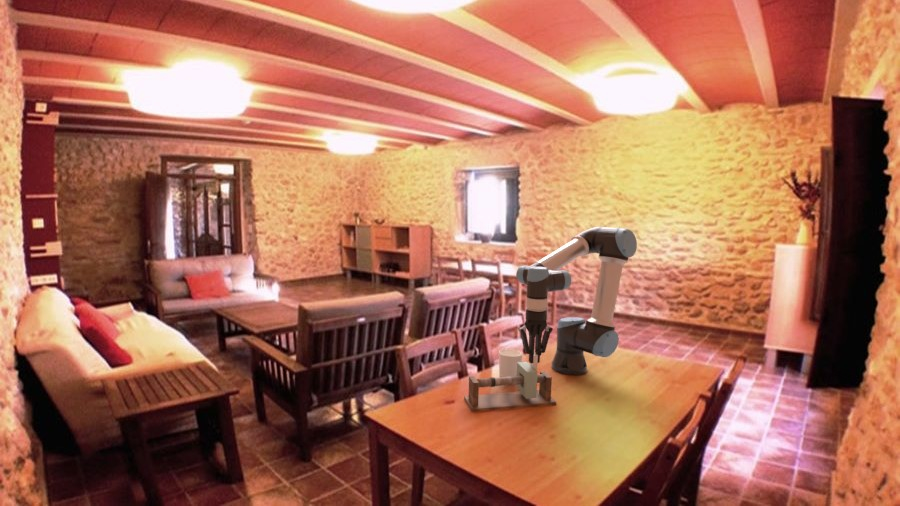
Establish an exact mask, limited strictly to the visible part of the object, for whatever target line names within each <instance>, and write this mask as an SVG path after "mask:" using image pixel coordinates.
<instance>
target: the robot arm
mask: <svg viewBox="0 0 900 506" xmlns="http://www.w3.org/2000/svg"><path fill="white" fill-rule="evenodd" d="M637 245H638V242H637V237H636V235H635V233H634V232H633V230H630V228H629V229H628V228H622V227H609V226H608V227H607V226H596V227H595V226H594V227H592V228H589V229H588V228H587V229H586V230H584V231H581V232H579V233H577V234H575V235H574V236H573V237H572V238H570V241H569V242H567V243H566V244H564V245H562V246H561V247H559V248H557V249H556V250H554V251H552V252H551V253H549V254H547V255H546V256H544V257H542V258H540V259H539V260H538V261H536V262H534V263H533V264H531V265H521V266H519V267H518V268H517V270H516V280H517V281H518V282H519V283H520V284H523V285H525V286H526V299H525V300H526V301H525V302H526V303H525V308H526V309H525V322H524V325H523V326H519V327H518V328H517V329H518V331H519V333H520V336H521V341H522V347H523V350H524V351H523V352H525V353H526V354H527V355H528V363H529V364H530V365H531V366H532V367H533V368H534V369H536V370H537V371H538V364H539V363H541V356H542V354H544V353H546V351H547V346H548V343H549V338H550V336H551V335H550V334H551V333H552V332H553V329H554V328H553V327H551V326H550V325H548V322H547V313H548V312H547V311H548V310H547V308H548V293H550V292H559V291H564V290H567V289H568V288H570V287H571V285H572V276H571V274H570V272H568V271H567V270H566V269H565V270H564V269H563V270H561V269H562V268H564V267H566V266H567V265H568V264H570V263H571V262H573V261H575V260H576V259H578V258H579V257H585V256H587V255H589V254H598V258H599V259H600V261H601V262H600V263H601V264H600V268H599V275H598V278H597V279H598V280H597V284H596V289H595V295H594V299H593V300H594V301H593V304H592V308H591V309H592V310H591V315H590V317H589V318H587V319H585V318H583V317H576V316H575V317H574V316H571V317H570V316H569V317H562V318H559V320H558V321H557V327H556V349H555V350H556V351H555V354H554V356H553V359H552V361H551V368H552V369H553V371H555V372H557V373H559V374H560V373H561V374H563V375H568V376H569V375H572V376H573V375H574V376H577V375H578V376H579V375H583V374H586V373H587V370H588V366H587V362H586V361H587V360H586V359H585V358H586V356H585V354H584V353H588V354H591V355H593V356H595V357H600V358H608V357H610V356H612V354H614V353H615V351H616V349H617V348H618V346H619V341H620V338H619V334H618V332H617V331H615V330H616V329H615V328H616V325H615V324H614V323H613V319H614V315H615V309H616V304H617V298H618V293H619V288H620V283H621V278H622V273H623V272H622V271H623V267H624V265H625V264H627V263H628V262H629V258H632V257H633V256H634V255H635V254H636V251H637V248H638V246H637ZM527 331H528V337H527V333H526V332H527Z"/></svg>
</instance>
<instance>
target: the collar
mask: <svg viewBox="0 0 900 506" xmlns="http://www.w3.org/2000/svg"><path fill="white" fill-rule="evenodd" d="M537 375H538V369H537V370H536V369H534V368H533V367H532V366H531V363H530V362H529V361H522V362H517V375H516V376H524V384H518V385H515V388H516V389H517V391H518V392H521V394H522V395H523V396H524V397H525V398H526V399H528V398H536V396H537V390H538V383H537Z"/></svg>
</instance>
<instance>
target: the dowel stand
mask: <svg viewBox="0 0 900 506" xmlns="http://www.w3.org/2000/svg"><path fill="white" fill-rule="evenodd" d="M552 379H553V377H552V376H551V375H550V374H549V373H547V372H546V371H544V370H543V371H540V372H539V374H537V384H539V385H538V386H539V388H538V389H537V396H536V398H528V399H526V398H525V397H524V396H523V395H522V394H521V392H520V391H513V392H512V391H511V392H498V393H497V392H496V393H486V394H480V393H479V388H495V387H502V386H516V385H518V384H524V376H512V377H500V376H499V377H493V376H492V377H491V376H490V377H486V378H485V377H484V378H476V376H475V375H474V376H473V375H472V376H468V395H464V396H463V398H464V401H465V403H466V405H467V406H468V408H469V410H470V411H471V413H475V412H486V411H497V410H498V411H499V410H509V409H521V408H531V407H535V408H536V407H543V406H556V405H557V401H556V400H555V399H554V398H553V397H552V383H553V381H552Z"/></svg>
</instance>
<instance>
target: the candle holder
mask: <svg viewBox="0 0 900 506" xmlns="http://www.w3.org/2000/svg"><path fill="white" fill-rule="evenodd" d="M523 355H524V354H523V351H521V350H518V349H516V348H503V349H500V350H499V351H498V369H499V370H498V371H499V373H498V374H499V377H512V376H516V375H517V362H523Z"/></svg>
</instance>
